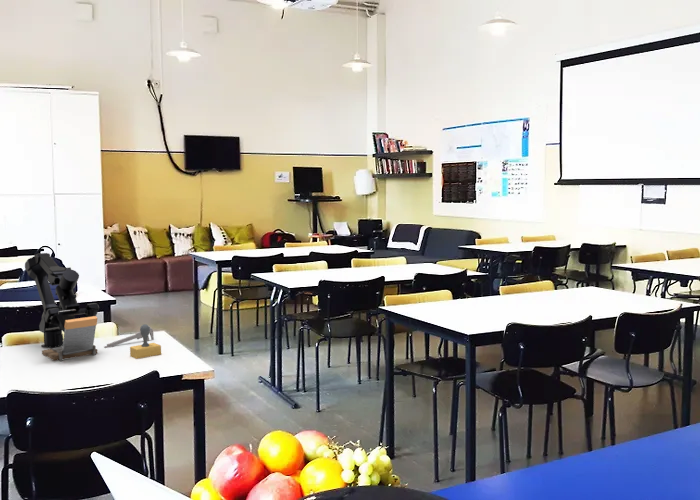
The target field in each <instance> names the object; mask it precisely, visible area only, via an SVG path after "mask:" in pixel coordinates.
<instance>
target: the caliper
mask: <svg viewBox="0 0 700 500" xmlns="http://www.w3.org/2000/svg"><path fill="white" fill-rule="evenodd" d="M148 326H149V328H150V332H149V335H150V337H149V335H148V338H147V342H149V341H151V340H152V341H154V330H153V327H151V326H150V325H148ZM141 339H143V337H142V335H141V332H140V331H138V332H136V333H135V334H132V335H129V336H125V337H124V338H120V339H117V340H115V341H112V342H110V343H109V342H108V343H106V345H104V346H103V348H105V349H106V348H113V347H116V346H119V345H121V344H124V343H127V342H129V341H132V340H141ZM150 339H151V340H150Z"/></svg>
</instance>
